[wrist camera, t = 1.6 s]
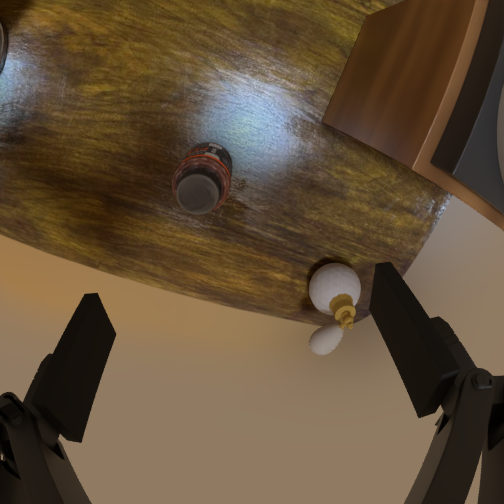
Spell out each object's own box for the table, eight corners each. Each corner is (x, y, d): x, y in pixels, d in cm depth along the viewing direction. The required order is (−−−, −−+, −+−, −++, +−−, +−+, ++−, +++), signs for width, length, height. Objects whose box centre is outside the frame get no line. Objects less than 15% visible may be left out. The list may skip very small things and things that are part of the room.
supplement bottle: (208, 131, 36) (198, 149, 26) (242, 165, 38) (244, 195, 28) (174, 164, 38) (152, 194, 28) (207, 196, 40) (198, 236, 30)
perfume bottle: (360, 260, 46) (390, 311, 35) (334, 309, 50) (354, 364, 40) (316, 249, 45) (338, 302, 34) (292, 301, 49) (306, 359, 39)
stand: (321, 121, 36) (411, 169, 17) (366, 16, 28) (481, -23, 9) (427, 177, 39) (532, 254, 20) (467, 85, 32) (587, 116, 13)
